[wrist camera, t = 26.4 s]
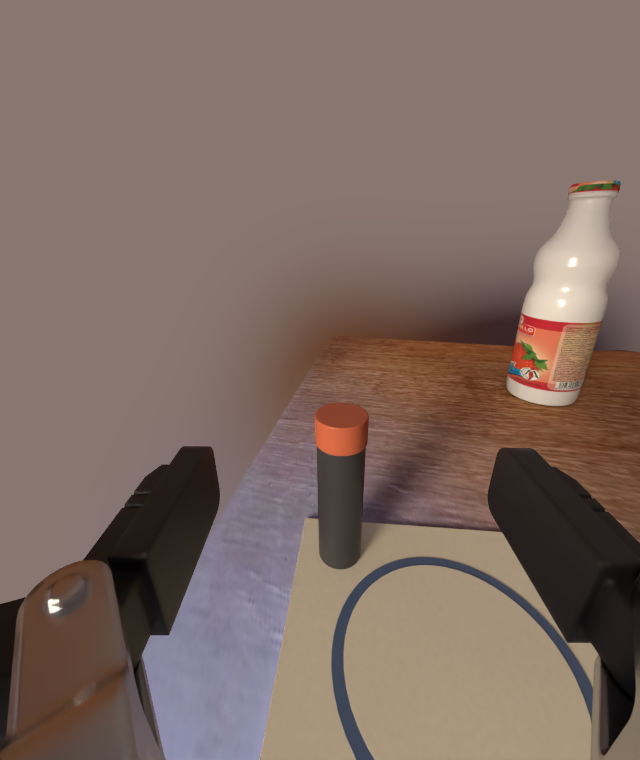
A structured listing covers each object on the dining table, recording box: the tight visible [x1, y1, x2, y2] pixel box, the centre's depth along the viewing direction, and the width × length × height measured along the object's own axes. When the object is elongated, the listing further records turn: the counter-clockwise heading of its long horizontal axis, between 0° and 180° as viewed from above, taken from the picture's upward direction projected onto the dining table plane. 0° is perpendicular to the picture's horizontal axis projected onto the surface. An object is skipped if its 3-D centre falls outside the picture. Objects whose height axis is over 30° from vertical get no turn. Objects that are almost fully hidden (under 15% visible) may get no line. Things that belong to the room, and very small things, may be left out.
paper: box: [260, 518, 598, 760], centre depth 19 cm, size 20×20×1 cm
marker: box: [315, 403, 369, 570], centre depth 24 cm, size 3×3×12 cm
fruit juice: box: [506, 181, 621, 406], centre depth 46 cm, size 9×9×28 cm
